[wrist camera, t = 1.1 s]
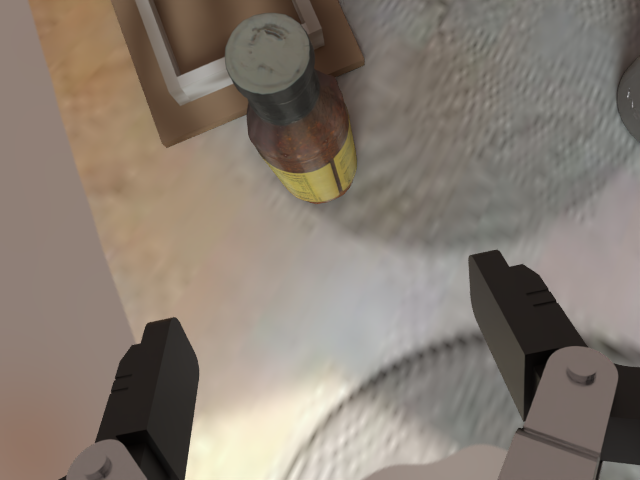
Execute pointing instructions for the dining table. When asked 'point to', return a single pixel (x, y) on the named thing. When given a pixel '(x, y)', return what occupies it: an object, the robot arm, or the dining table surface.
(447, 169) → the dining table surface
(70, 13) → the dining table surface
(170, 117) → the carrier board
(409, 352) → the dining table surface
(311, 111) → the sauce bottle
